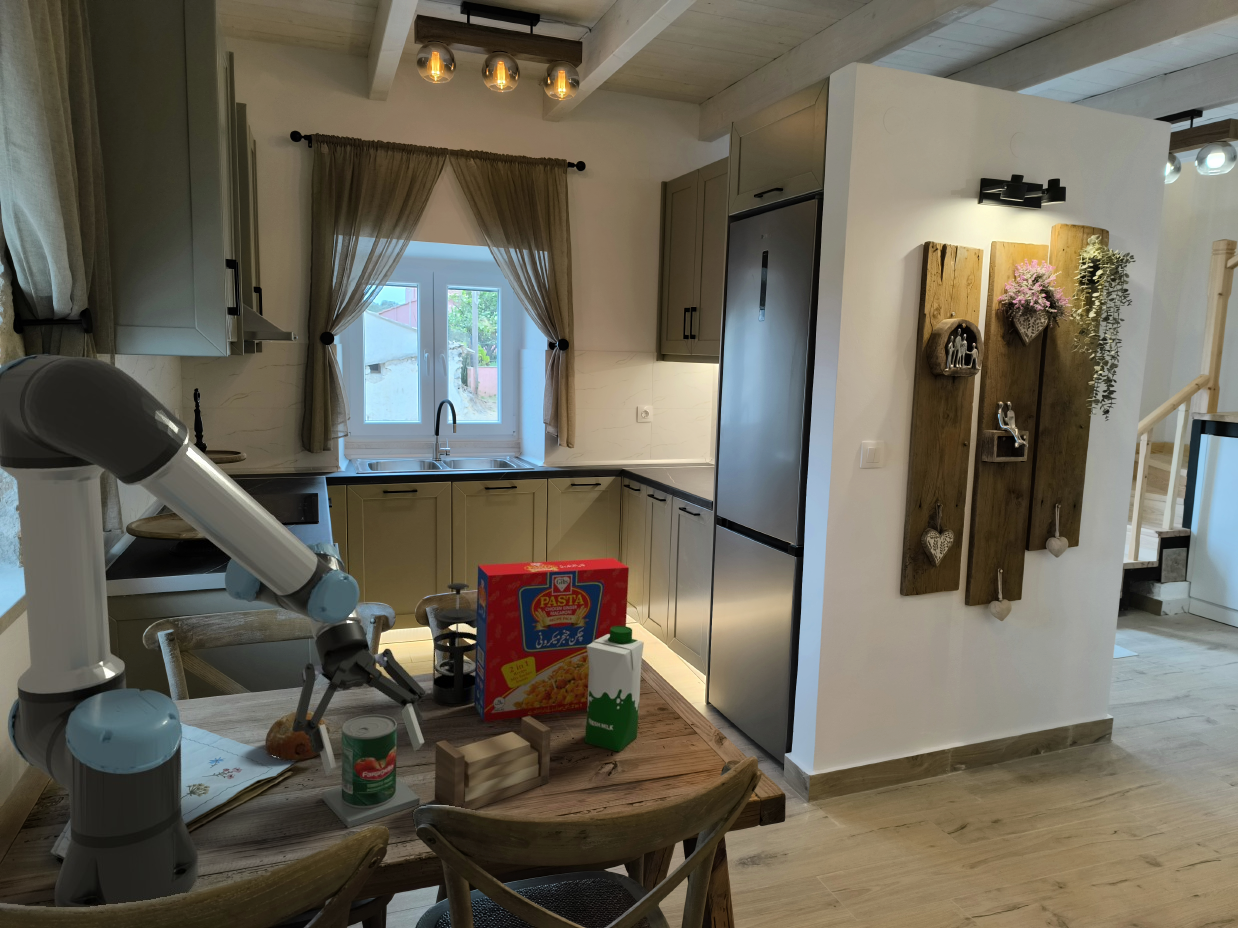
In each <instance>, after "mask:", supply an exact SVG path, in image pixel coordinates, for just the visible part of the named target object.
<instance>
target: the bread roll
mask: <svg viewBox="0 0 1238 928" xmlns="http://www.w3.org/2000/svg"><path fill="white" fill-rule="evenodd" d="M313 714H314V712H313V711H308V712H307V716H306V719H308V720H311V718H312V716H313ZM295 715H296V711H293V712H291V713H288V714H286V715H284V716H282V717H281V718H279V719H277V720H276V721H275V722H274V723H273V724H272V725H271V727H270V728H269V730H268V732H267V734H266V736H265V743H264V744H265V750H266V751H267V754H270V755H273V756H276V757H279V758H282V759H285V760H284V761H288V760H290V761H291V762H292V760H297V761H305V760H310V759H312V758H315V757H316V756H318V755H320V752H318V753H314V752H313V750H312V746H311V743H310V739H309V736H308V735H306V734H305V732H304V731H299V732H294V731H293V730H292V727H293V723H294V719H295ZM324 724H325V727H326V730H327V734H328V738H329V741H331V740H332V736H331V735H330V727H329V726H328V724H327V723H326V722H325V720H324V719H323V717H322V718H321V720H320V722H319V724H318V726H320V725H324ZM270 755H269V756H270ZM282 759H281V760H282Z"/></svg>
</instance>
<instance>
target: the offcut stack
mask: <svg viewBox="0 0 1238 928" xmlns="http://www.w3.org/2000/svg"><path fill="white" fill-rule="evenodd" d="M455 748H456V747H455ZM456 749H457V750H459V751H460V752H461V753H463V754H464V755H465V764H464V802H466V801H469V800H472V799H475V798H477V797H480V796H483V795H486V794H489V793H492V792H495V791H498V790H500V789H503V788H506V787H509V786H512V785H515V784H518V783H521V782H524V781H526V780H529V779H532V778H535V777H538V768H539V764H538V752H537V751H535V750H534V749H532V748H531V747H530V743H528V742H527V741H525V740H524V739H522V738H521V736H520V735H518V734H516V733H515V732H514V731H511V732H507V733H504V734H500V735H496V736H494V737H490V738H486V739H484V740H480V741H476V742H473V743H469V744H467V745H463V746H460V747H457V748H456Z"/></svg>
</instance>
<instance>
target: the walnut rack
mask: <svg viewBox="0 0 1238 928" xmlns="http://www.w3.org/2000/svg"><path fill="white" fill-rule="evenodd" d="M520 725H521V727H520V728H521V729H520V730H521V731H520V737H521V738H522V739H524V740H525V741H527V742H528V743H530V747H531V748H532V749H534V750H535V751H537V752H538V764H539V768H538V777H535V778H532V779H529V780H526V781H524V782H521V783H518V784H515V785H512V786H509V787H506V788H503V789H500V790H498V791H495V792H492V793H489V794H486V795H483V796H480V797H477V798H475V799H472V800H469V801H466V802H464V764H465V755H464V754H463V753H461V752H460V751H459V750H457V749H456V747H455V746H454V745H452V744H451V743H449V742H448V741H447V740H445V739H444V740H440V741H437V742H435V762H434V763H435V764H434V765H435V766H434V769H435V770H434V800H435V799H436V800H437V801H436V800H435V801H436V802H437V803H438V804H440V806H442V805H449V806H455V807H461V808H465V809H473V810H477V809H478V808H481V807H484V806H488V805H489V803H490V804H494V803H495V802H498V801H502V800H504V799H507V798H509V797H513V796H515V795H518V794H521V793H524V792H526V791H528V790H532V789H535V788H537V787H538V788H539V787H541V786H543V785H546V784H548V783H549V784H550V781H549V780H550V759H551V757H550V755H551V732H552V731H551V730H552V729H551V728H550V727H548V726H547V725H545V724H544V723H541V722H540V721H538V720H537V719H535V718H534V717H533V716H527V717H521V724H520ZM540 785H541V786H540Z"/></svg>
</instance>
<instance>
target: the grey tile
mask: <svg viewBox="0 0 1238 928" xmlns="http://www.w3.org/2000/svg"><path fill="white" fill-rule="evenodd" d="M341 796H342V785H341V786H338V787H334V788H331V789H328V790H324V791H321V799H322V801H324V803H325V804H326V805H327V806H328V807H329V808H330V810H332V812H334V814H335V815H336V816H337V817H338V819H340V820H341V822H343V824H344V825H345V826H346V827H347V828H348V829H349V828H352V827H355V826H358V825H362V824H364V823H368V822H370V821H373V820H376V819H380V818H383V817H386V816H388V815H389V816H390V815H392V814H394V813H397V812H401V811H404V810H406V809H409V808H413V807H416V806H418V805H417V804H419V805H420V803H421V802H420V800H421V799H420V797H419V796H418V795H417V794H416V793H415V792H414V791H413V790H412V789H410V788H409V787H408V785H406V784H405V783H404V782H403V781H402V780H401V779H400V778H398V776H396V795H395V797H394V798H393V799H392V800H391V801H389V802H388V803H386V804H384V805H381V806H378V807H374V808H365V809H361V808H353V807H350V806H348V805H346V804H345V803H344V802H343V801H342V797H341Z"/></svg>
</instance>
